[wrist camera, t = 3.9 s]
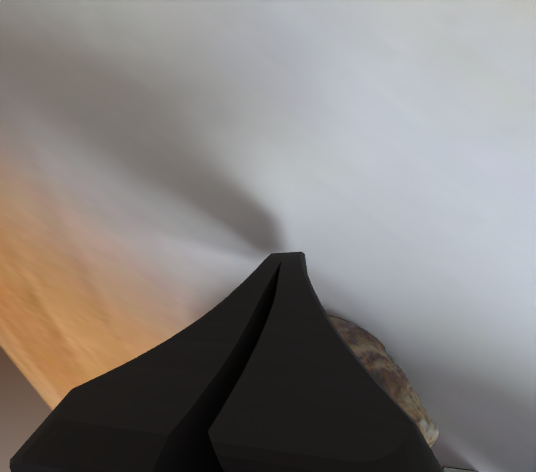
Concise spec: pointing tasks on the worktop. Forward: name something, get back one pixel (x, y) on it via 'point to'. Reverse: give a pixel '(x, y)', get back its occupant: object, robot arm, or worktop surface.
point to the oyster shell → (387, 374)
